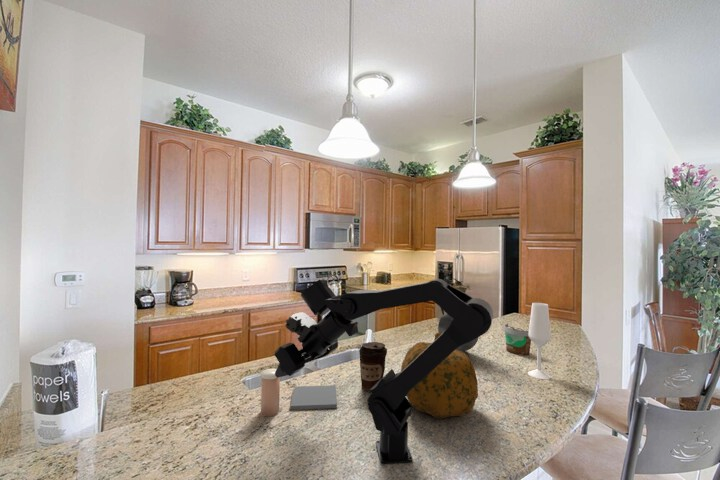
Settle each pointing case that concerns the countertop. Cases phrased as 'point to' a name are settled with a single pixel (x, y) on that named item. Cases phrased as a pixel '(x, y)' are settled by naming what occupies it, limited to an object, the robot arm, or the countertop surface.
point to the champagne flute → (539, 334)
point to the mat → (314, 397)
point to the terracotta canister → (270, 393)
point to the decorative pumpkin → (444, 384)
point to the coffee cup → (372, 363)
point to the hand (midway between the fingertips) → (289, 368)
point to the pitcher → (447, 319)
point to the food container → (517, 340)
